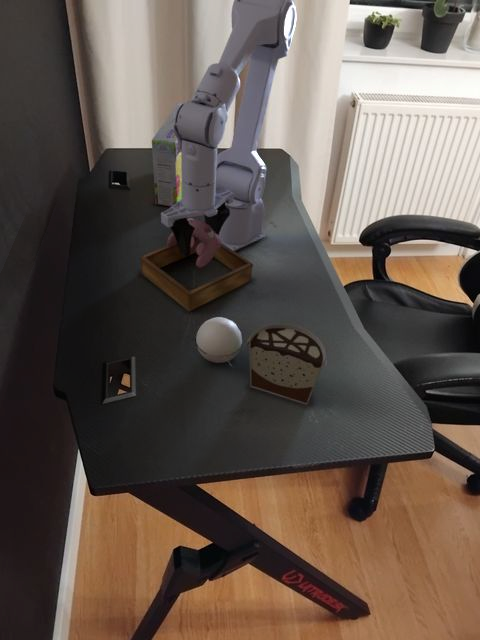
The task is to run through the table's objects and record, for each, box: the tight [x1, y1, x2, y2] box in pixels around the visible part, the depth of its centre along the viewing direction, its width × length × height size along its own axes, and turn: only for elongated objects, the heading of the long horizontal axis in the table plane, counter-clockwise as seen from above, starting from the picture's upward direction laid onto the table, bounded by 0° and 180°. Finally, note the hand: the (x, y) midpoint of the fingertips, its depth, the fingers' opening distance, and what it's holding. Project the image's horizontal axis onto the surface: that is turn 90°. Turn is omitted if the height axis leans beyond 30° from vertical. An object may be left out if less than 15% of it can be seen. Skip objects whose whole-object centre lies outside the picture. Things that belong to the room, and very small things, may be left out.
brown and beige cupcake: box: [244, 323, 328, 406], centre depth 86 cm, size 12×6×10 cm, turn 71°
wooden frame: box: [139, 239, 254, 312], centre depth 107 cm, size 15×14×4 cm
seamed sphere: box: [194, 316, 243, 367], centre depth 89 cm, size 10×7×7 cm
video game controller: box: [166, 217, 221, 269], centre depth 103 cm, size 10×5×7 cm, turn 45°
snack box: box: [151, 103, 183, 208], centre depth 128 cm, size 21×6×15 cm, turn 172°
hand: (197, 247), depth 103 cm, fingers closed on video game controller, 6 cm apart
